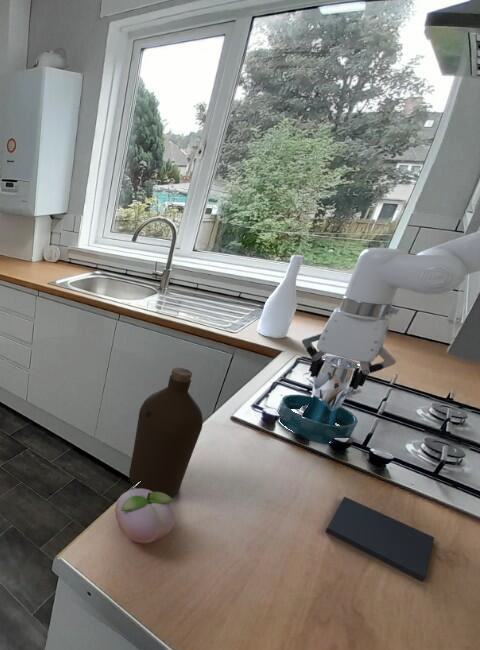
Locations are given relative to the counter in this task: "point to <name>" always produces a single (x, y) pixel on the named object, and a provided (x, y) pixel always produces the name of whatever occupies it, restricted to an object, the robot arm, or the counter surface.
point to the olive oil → (166, 436)
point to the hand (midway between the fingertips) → (333, 380)
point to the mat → (382, 537)
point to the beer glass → (331, 388)
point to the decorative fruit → (144, 515)
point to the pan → (313, 428)
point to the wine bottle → (281, 304)
